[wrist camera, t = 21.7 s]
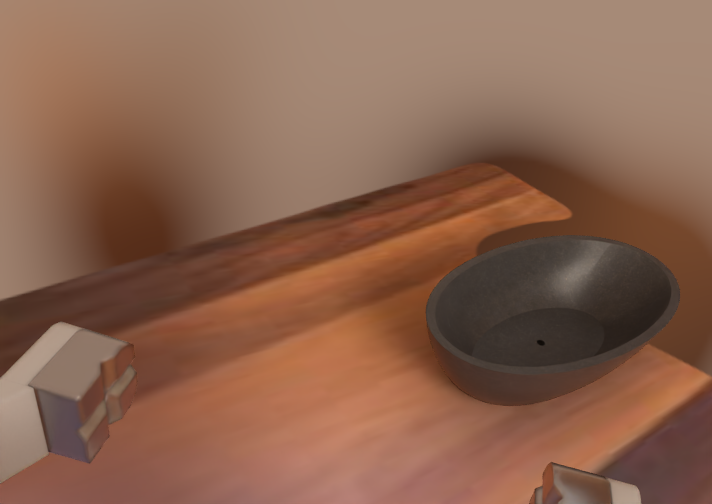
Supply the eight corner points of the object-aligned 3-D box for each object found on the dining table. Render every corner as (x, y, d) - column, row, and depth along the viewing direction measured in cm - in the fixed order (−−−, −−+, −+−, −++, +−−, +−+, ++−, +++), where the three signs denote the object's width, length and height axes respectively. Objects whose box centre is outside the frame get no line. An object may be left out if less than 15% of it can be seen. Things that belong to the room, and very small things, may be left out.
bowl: (687, 362, 50) (724, 301, 46) (482, 481, 39) (509, 413, 35) (568, 274, 58) (592, 216, 54) (369, 352, 46) (382, 286, 43)
